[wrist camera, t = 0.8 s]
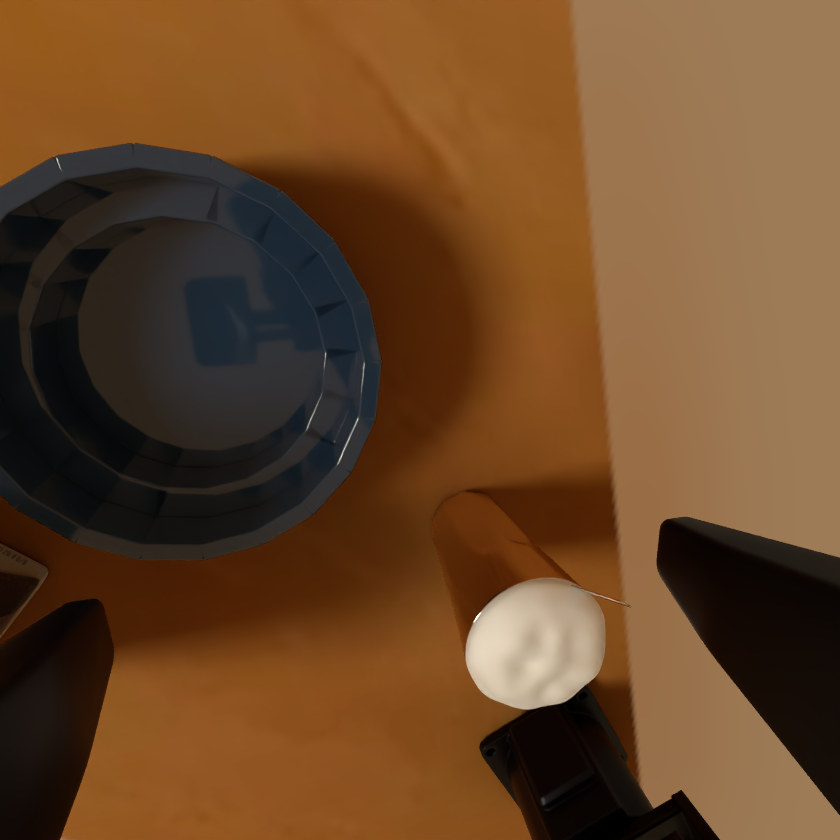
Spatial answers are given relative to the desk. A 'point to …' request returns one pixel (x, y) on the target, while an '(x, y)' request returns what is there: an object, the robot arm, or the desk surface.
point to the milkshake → (515, 607)
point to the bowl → (175, 354)
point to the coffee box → (17, 584)
